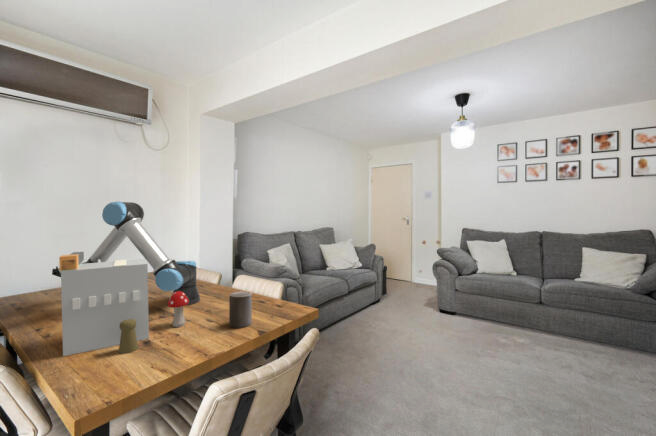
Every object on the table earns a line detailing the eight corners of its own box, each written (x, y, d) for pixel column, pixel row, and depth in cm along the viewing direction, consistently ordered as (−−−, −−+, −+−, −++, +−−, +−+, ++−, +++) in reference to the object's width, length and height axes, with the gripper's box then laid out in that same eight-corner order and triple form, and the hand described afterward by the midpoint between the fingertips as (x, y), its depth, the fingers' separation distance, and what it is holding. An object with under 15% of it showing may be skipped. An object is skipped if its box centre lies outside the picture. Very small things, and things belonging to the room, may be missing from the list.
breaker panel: (70, 340, 119) (68, 264, 119) (146, 326, 134) (145, 258, 133) (62, 357, 105) (60, 270, 105) (149, 339, 120) (147, 263, 119)
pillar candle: (231, 329, 129) (231, 295, 128) (227, 322, 137) (227, 289, 137) (254, 326, 133) (254, 292, 133) (249, 319, 142) (249, 287, 142)
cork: (124, 346, 113) (124, 317, 113) (141, 345, 114) (141, 316, 114) (114, 354, 107) (114, 323, 107) (132, 353, 108) (132, 322, 108)
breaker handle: (71, 260, 127) (71, 249, 127) (85, 259, 129) (85, 248, 129) (59, 270, 105) (59, 256, 105) (76, 269, 108) (76, 255, 107)
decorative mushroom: (169, 322, 138) (168, 289, 137) (189, 319, 141) (189, 288, 141) (166, 330, 129) (166, 295, 128) (189, 327, 132) (188, 293, 132)
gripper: (52, 274, 142) (42, 257, 127) (116, 269, 156) (114, 253, 140) (50, 290, 139) (39, 274, 124) (116, 283, 153) (114, 269, 137)
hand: (79, 263), depth 132 cm, fingers open, 13 cm apart
